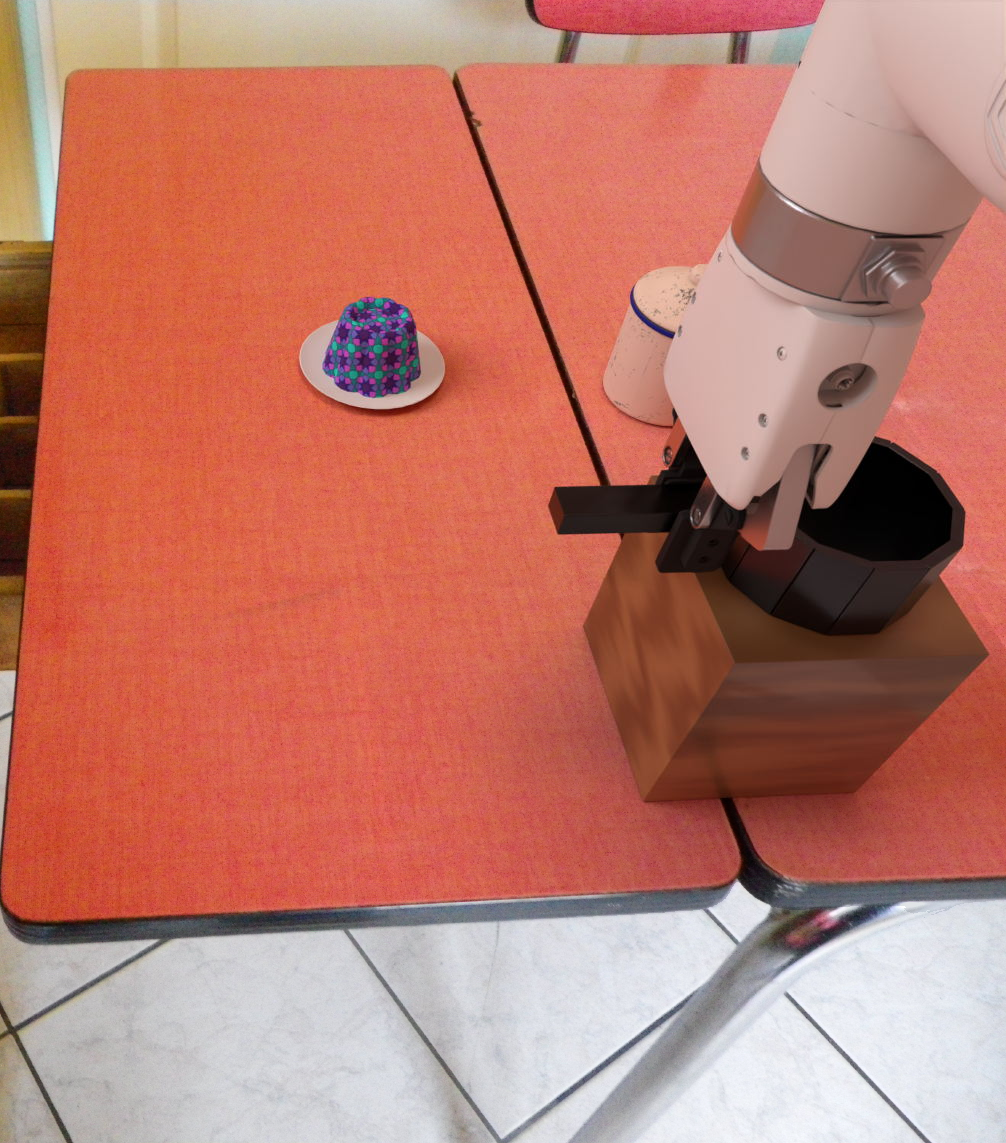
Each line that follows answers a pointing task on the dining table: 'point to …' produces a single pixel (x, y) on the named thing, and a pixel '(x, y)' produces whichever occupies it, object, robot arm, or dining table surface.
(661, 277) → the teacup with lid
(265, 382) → the dining table surface
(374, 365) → the pudding
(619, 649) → the wooden cube
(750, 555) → the pan
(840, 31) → the robot arm
